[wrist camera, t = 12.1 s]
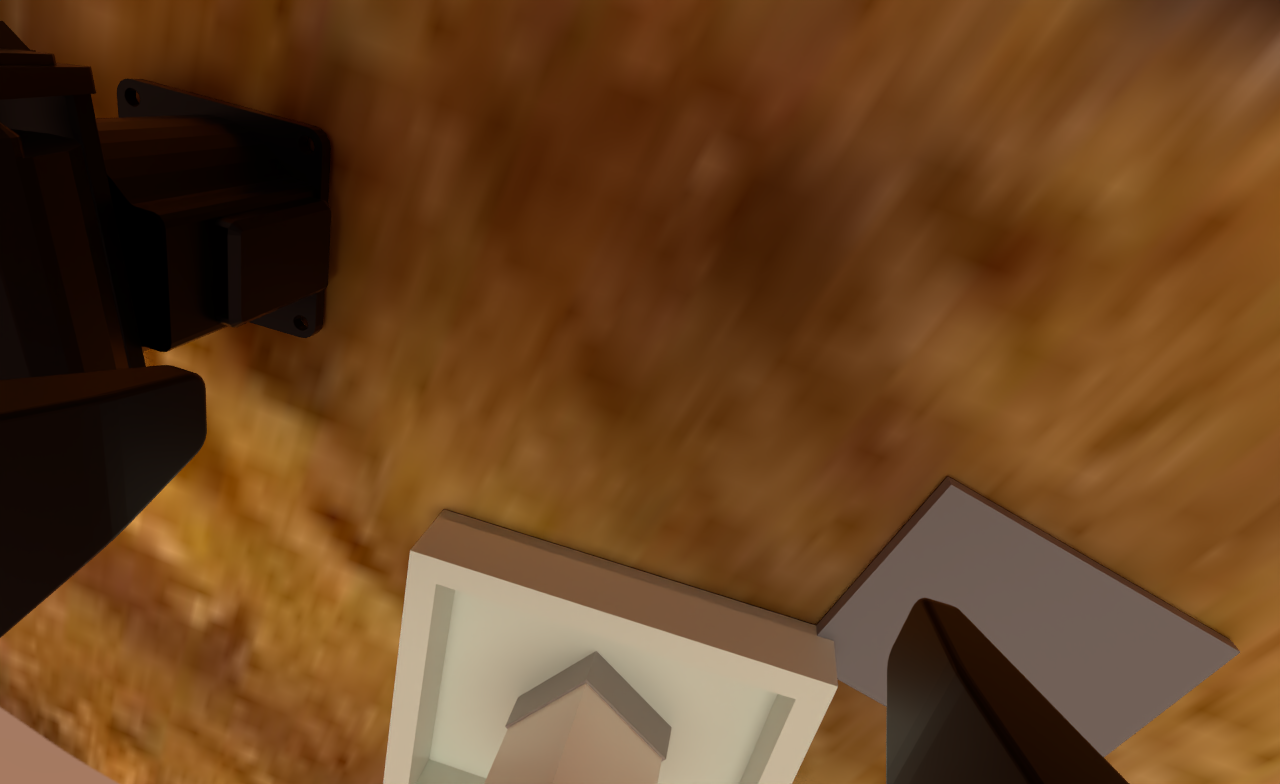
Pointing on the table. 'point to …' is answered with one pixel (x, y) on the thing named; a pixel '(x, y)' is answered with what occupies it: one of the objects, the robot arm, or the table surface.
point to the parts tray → (573, 629)
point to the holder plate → (1027, 616)
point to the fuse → (582, 732)
